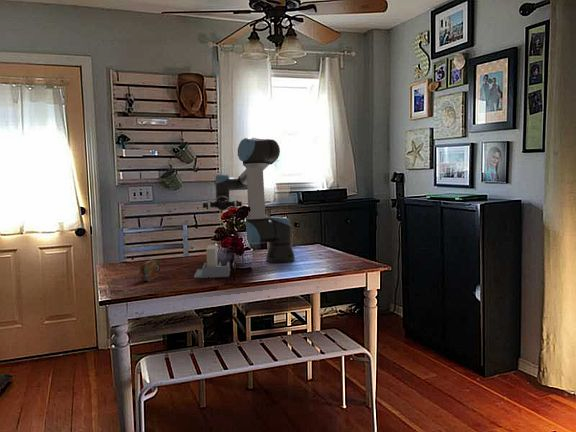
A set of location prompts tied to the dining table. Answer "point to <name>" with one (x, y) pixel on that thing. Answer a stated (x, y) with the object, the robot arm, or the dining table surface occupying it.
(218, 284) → the dining table surface
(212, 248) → the cream upright slab
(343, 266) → the dining table surface
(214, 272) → the rack
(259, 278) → the dining table surface
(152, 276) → the mottled brown flat piece
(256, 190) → the robot arm
